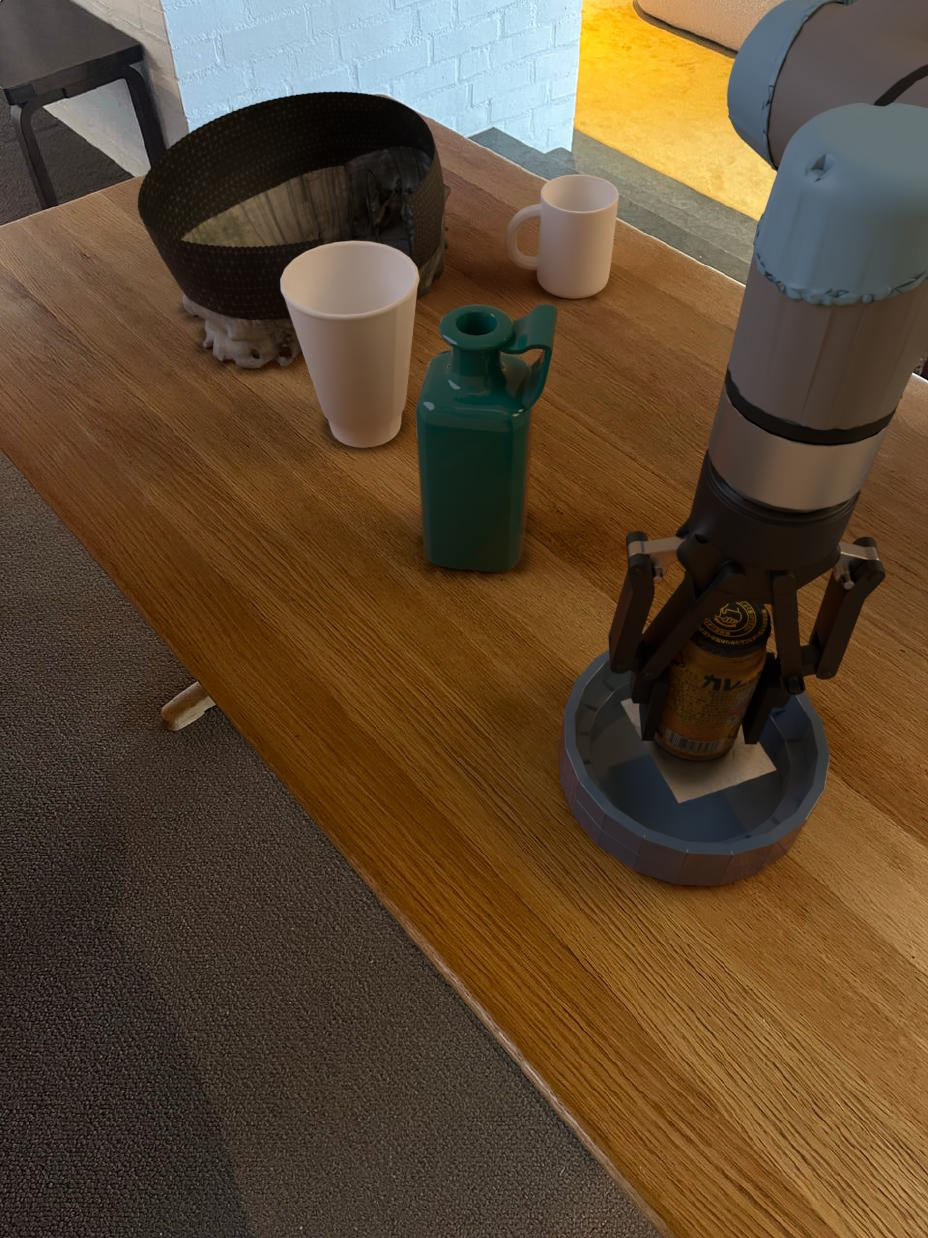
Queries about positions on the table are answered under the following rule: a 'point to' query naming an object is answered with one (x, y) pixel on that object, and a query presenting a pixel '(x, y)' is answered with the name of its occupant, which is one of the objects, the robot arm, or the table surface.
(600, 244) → the mug
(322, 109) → the basket
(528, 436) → the pitcher
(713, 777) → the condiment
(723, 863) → the bowl
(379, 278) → the cup
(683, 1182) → the table surface
